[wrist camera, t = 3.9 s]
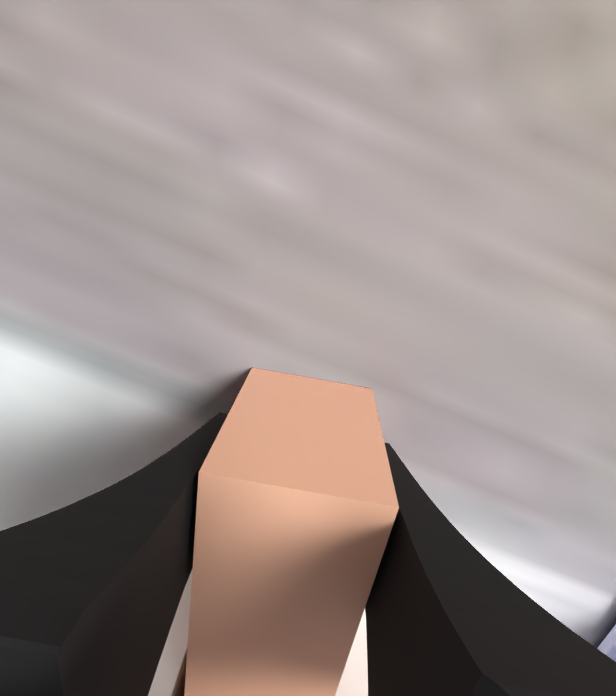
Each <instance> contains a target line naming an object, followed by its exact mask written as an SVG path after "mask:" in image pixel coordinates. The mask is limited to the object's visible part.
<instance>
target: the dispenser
mask: <svg viewBox="0 0 616 696" xmlns="http://www.w3.org/2000/svg"><path fill="white" fill-rule="evenodd" d="M192 569H193V568H192ZM191 585H192V571H191V573H190V576H189V578H188V581H187V583H186V586H185V588H184V591H183V594H182V597H181V600H180V602H179V605H178V608H177V611H176V614H175V617H174V620H173V623H172V625H171V628H170V631H169V634H168V637H167V640H166V643H165V646H164V649H163V652H162V655H161V658H160V661H159V664H158V667H157V670H156V673H155V676H154V679H153V682H152V685H151V688H150V691H149V694H148V696H184V693H185V678H186V662H187V647H188V631H189V616H190V600H191ZM335 696H368V662H367V632H366V613H365V609H364V612H363V615H362V618H361V621H360V624H359V627H358V630H357V633H356V636H355V638H354V641H353V644H352V647H351V650H350V653H349V656H348V659H347V662H346V665H345V668H344V671H343V674H342V677H341V680H340V683H339V686H338V689H337V691H336V694H335Z"/></svg>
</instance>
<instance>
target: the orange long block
mask: <svg viewBox="0 0 616 696" xmlns="http://www.w3.org/2000/svg"><path fill="white" fill-rule="evenodd" d="M398 509H399V505H398V501H397V496H396V492H395V488H394V483H393V479H392V474H391V470H390V465H389V461H388V456H387V452H386V447H385V443H384V438H383V434H382V430H381V425H380V421H379V416H378V412H377V407H376V403H375V398H374V394H373V389H370V388H364V387H359V386H353V385H347V384H342V383H336V382H330V381H325V380H319V379H313V378H308V377H302V376H297V375H291V374H285V373H280V372H274V371H268V370H263V369H257V368H252V369H251V371H250V372H249V374H248V376H247V378H246V380H245V382H244V384H243V386H242V388H241V390H240V392H239V394H238V396H237V398H236V400H235V402H234V404H233V406H232V408H231V410H230V412H229V414H228V416H227V418H226V420H225V422H224V424H223V425H222V427H221V429H220V431H219V433H218V435H217V437H216V439H215V441H214V443H213V445H212V447H211V449H210V451H209V453H208V455H207V457H206V459H205V461H204V463H203V465H202V467H201V469H200V471H199V477H198V492H197V508H196V523H195V538H194V554H193V569H192V585H191V600H190V616H189V631H188V647H187V662H186V678H185V693H184V696H335V694H336V691H337V689H338V686H339V683H340V680H341V677H342V674H343V671H344V668H345V665H346V662H347V659H348V656H349V653H350V650H351V647H352V644H353V641H354V638H355V636H356V633H357V630H358V627H359V624H360V621H361V618H362V615H363V612H364V609H365V606H366V603H367V600H368V597H369V594H370V591H371V588H372V585H373V583H374V580H375V577H376V574H377V571H378V568H379V565H380V562H381V559H382V556H383V553H384V550H385V547H386V544H387V541H388V538H389V535H390V532H391V530H392V527H393V524H394V521H395V518H396V515H397V512H398Z"/></svg>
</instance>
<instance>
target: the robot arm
mask: <svg viewBox="0 0 616 696" xmlns="http://www.w3.org/2000/svg"><path fill="white" fill-rule="evenodd" d="M227 416H228V414H224V413H219V414H217V415H216V416H214V417H213V418H212V419H211V420H209V421H208V422H207V423H206V424H205V425H203V426H202V427H201V428H200V429H198V430H197V431H196V432H194V433H193V434H192V435H191V436H189V437H188V438H186V439H185V440H184V441H182V442H181V443H180V444H178V445H177V446H176V447H174V448H173V449H171V450H170V451H169V452H167V453H166V454H164V455H163V456H161V457H159V458H158V459H156V460H155V461H153V462H152V463H150V464H149V465H147V466H146V467H144V468H142V469H141V470H139V471H137V472H136V473H134V474H132V475H131V476H129V477H127V478H125V479H123V480H121V481H119V482H118V483H116V484H114V485H112V486H110V487H108V488H106V489H104V490H101V491H99V492H97V493H95V494H93V495H91V496H88V497H86V498H84V499H82V500H80V501H78V502H76V503H73V504H71V505H69V506H66V507H64V508H62V509H59V510H57V511H54V512H52V513H49V514H47V515H44V516H41V517H39V518H36V519H33V520H31V521H28V522H25V523H23V524H20V525H17V526H14V527H11V528H9V529H6V530H3V531H0V696H148V694H149V691H150V688H151V685H152V682H153V679H154V676H155V673H156V670H157V667H158V664H159V661H160V658H161V655H162V652H163V649H164V646H165V643H166V640H167V637H168V634H169V631H170V628H171V625H172V623H173V620H174V617H175V614H176V611H177V608H178V605H179V602H180V600H181V597H182V594H183V591H184V588H185V586H186V583H187V581H188V578H189V576H190V573H191V571H192V568H193V554H194V538H195V523H196V508H197V492H198V477H199V471H200V469H201V467H202V465H203V463H204V461H205V459H206V457H207V455H208V453H209V451H210V449H211V447H212V445H213V443H214V441H215V439H216V437H217V435H218V433H219V431H220V429H221V427H222V425H223V424H224V422H225V420H226V418H227ZM385 447H386V452H387V456H388V461H389V465H390V470H391V474H392V479H393V483H394V488H395V492H396V496H397V501H398V505H399V509H398V512H397V515H396V518H395V521H394V524H393V527H392V530H391V532H390V535H389V538H388V541H387V544H386V547H385V550H384V553H383V556H382V559H381V562H380V565H379V568H378V571H377V574H376V577H375V580H374V583H373V585H372V588H371V591H370V594H369V597H368V600H367V603H366V606H365V613H366V632H367V662H368V696H616V624H615V626H614V627H613V628H612V630H611V631H610V632H609V634H608V635H607V636H606V637H605V639H604V640H603V641H602V643H601V644H600V645H599V647H598V648H595V647H594V646H592V645H591V644H590V643H588V642H587V641H585V640H584V639H583V638H581V637H580V636H578V635H577V634H576V633H574V632H573V631H572V630H570V629H569V628H568V627H566V626H565V625H564V624H562V623H561V622H560V621H559V620H557V619H556V618H555V617H553V616H552V615H551V614H550V613H548V612H547V611H546V610H544V609H543V608H542V607H541V606H539V605H538V604H537V603H536V602H534V601H533V600H532V599H531V598H530V597H528V596H527V595H526V594H525V593H524V592H522V591H521V590H520V589H519V588H518V587H516V586H515V585H514V584H513V583H512V582H511V581H510V580H509V579H507V578H506V577H505V576H504V575H503V574H502V573H501V572H500V571H498V570H497V569H496V568H495V567H494V566H493V565H492V564H491V563H490V562H489V561H487V560H486V559H485V558H484V557H483V556H482V555H481V554H480V553H479V552H478V551H477V550H476V549H475V548H474V547H473V546H472V545H471V544H470V543H469V542H468V541H467V540H466V539H465V538H464V537H463V536H462V535H461V534H460V533H459V532H458V530H457V529H456V528H455V527H454V526H453V525H452V524H451V523H450V522H449V521H448V519H447V518H446V517H445V516H444V515H443V514H442V512H441V511H440V510H439V509H438V508H437V507H436V505H435V504H434V503H433V502H432V501H431V499H430V498H429V497H428V496H427V494H426V493H425V492H424V491H423V489H422V488H421V487H420V485H419V484H418V483H417V481H416V480H415V479H414V477H413V476H412V475H411V473H410V472H409V471H408V469H407V468H406V466H405V465H404V464H403V462H402V461H401V459H400V458H399V457H398V455H397V454H396V452H395V451H394V450H393V448H392V447H391V446H390V444H388V443H385Z"/></svg>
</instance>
